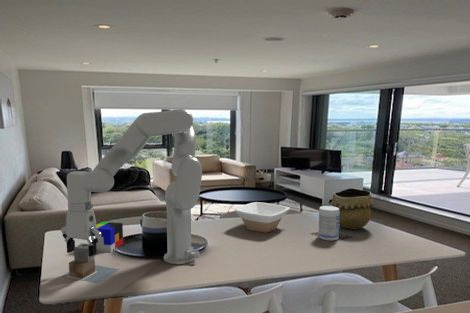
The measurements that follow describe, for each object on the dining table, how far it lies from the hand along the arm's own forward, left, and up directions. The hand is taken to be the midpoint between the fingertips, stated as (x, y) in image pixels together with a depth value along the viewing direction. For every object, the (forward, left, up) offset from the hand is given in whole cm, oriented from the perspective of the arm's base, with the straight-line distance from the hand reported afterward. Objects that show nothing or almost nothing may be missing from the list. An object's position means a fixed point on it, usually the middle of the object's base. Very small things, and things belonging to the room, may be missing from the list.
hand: (81, 253), depth 123 cm
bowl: (-46, -77, -9) cm, 90 cm away
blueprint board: (-2, -2, -8) cm, 9 cm away
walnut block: (0, 0, -8) cm, 8 cm away
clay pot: (-90, -93, -8) cm, 130 cm away
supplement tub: (-80, -73, -9) cm, 109 cm away
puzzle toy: (+11, -26, -9) cm, 30 cm away
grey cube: (0, -1, -3) cm, 3 cm away
